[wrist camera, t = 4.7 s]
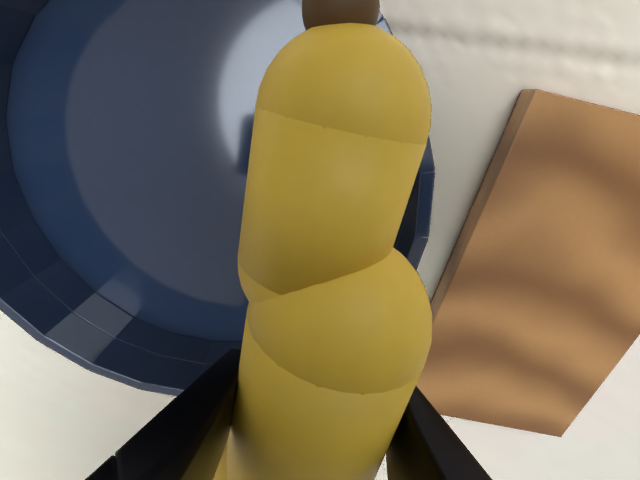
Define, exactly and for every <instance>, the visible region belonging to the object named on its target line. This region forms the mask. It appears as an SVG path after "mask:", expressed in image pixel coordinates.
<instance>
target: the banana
mask: <svg viewBox="0 0 640 480" xmlns="http://www.w3.org/2000/svg"><path fill="white" fill-rule="evenodd" d="M378 16H379V0H302V18H303V23H304V27H305V29H306V31H304V32H303V33H301V34H299V35H298V36H296V37H294V38H293V39H292V40H291V41H290V42H288V43H287V44H286V45H285V46H284V47H283V48H282V49H281V50H280V51H279V52H278V53H277V55H276V56H275V58H274V59H273V61H272V62H271V63H270V65H269V66H268V68H267V70H266V72H265V74H264V77H263V79H262V81H261V84H260V86H259V91H258V95H257V100H256V105H255V114H254V123H253V131H252V140H251V148H250V156H249V165H248V173H247V182H246V190H245V198H244V207H243V215H242V224H241V232H240V241H239V249H238V275H239V279H240V283H241V287H242V289H243V291H244V293H245V295H246V297H247V299H248V301H249V304H248V308H247V313H246V320H245V327H244V335H243V342H242V349H241V356H240V363H239V374H238V384H237V391H236V398H235V405H234V412H233V418H232V425H231V429H230V433H229V436H228V439H227V443H226V446H225V449H224V451H223V454H222V457H221V459H220V462H219V465H218V467H217V470H216V472H215V475H214V477H213V480H374V479H375V476H376V474H377V472H378V470H379V467H380V465H381V463H382V461H383V458H384V456H385V454H386V452H387V449H388V447H389V445H390V442H391V440H392V438H393V436H394V433H395V431H396V429H397V427H398V424H399V422H400V420H401V418H402V415H403V413H404V411H405V409H406V406H407V404H408V402H409V400H410V397H411V395H412V393H413V390H414V388H415V386H416V384H417V381H418V379H419V377H420V375H421V372H422V370H423V368H424V366H425V363H426V359H427V356H428V353H429V349H430V346H431V342H432V311H431V307H430V302H429V298H428V295H427V291H426V289H425V287H424V285H423V283H422V280H421V278H420V276H419V275H418V273H417V272H416V270H415V269H414V268H413V266H412V265H411V264H410V263H409V261H408V260H407V259H406V258H405V257H404V256H403V255H402V254H401V253H400V252H399V251H397V250H396V249H395V248H393V245H394V242H395V239H396V236H397V233H398V230H399V227H400V224H401V221H402V218H403V215H404V212H405V209H406V206H407V203H408V200H409V197H410V194H411V190H412V187H413V184H414V181H415V178H416V175H417V172H418V169H419V166H420V163H421V160H422V157H423V154H424V151H425V148H426V145H427V139H428V135H429V131H430V126H431V100H430V94H429V88H428V84H427V82H426V79H425V77H424V74H423V71H422V69H421V67H420V65H419V64H418V62H417V61H416V59H415V58H414V56H413V55H412V53H411V52H410V50H409V49H408V48H406V47H405V46H404V45H403V44H402V43H401V42H400V41H399V40H398V39H397V38H396V37H395V36H393V35H391V34H389V33H388V32H386V31H384V30H382V29H380V28H379V27H377V26H376V24H377V20H378Z"/></svg>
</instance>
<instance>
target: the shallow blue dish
mask: <svg viewBox="0 0 640 480" xmlns="http://www.w3.org/2000/svg"><path fill="white" fill-rule="evenodd" d="M376 26H377V27H379V28H380V29H382V30H384V31H386V32H388V33H389V34H391V35H393V34H392V32H391V30H390V28H389V26H388V23H387V21H386V19H385V18H383V15H382V14H381V13H380V11H379V16H378V20H377V24H376ZM304 31H306V29H305V27H304V23H303V18H302V0H0V310H1V311H2V312H3V313H5V314H6V315H7V316H8V317H9V318H11V319H12V320H13V321H14V322H15V323H16V324H18V325H19V326H20V327H21V328H22V329H24V330H25V331H26V332H27V333H28V334H30V335H31V336H32V337H33V338H34V339H36V340H37V341H39V342H40V343H42V344H44V345H45V346H47V347H49V348H51V349H52V350H54V351H56V352H57V353H59V354H61V355H63V356H64V357H66V358H68V359H69V360H71V361H73V362H75V363H76V364H78V365H80V366H82V367H83V368H85V369H87V370H89V371H91V372H94V373H97V374H99V375H102V376H105V377H107V378H110V379H113V380H115V381H118V382H121V383H124V384H126V385H129V386H132V387H134V388H137V389H141V390H145V391H151V392H156V393H162V394H167V395H173V396H178V395H179V394H180V393H181V392H182V391H184V390H185V389H186V388H187V387H188V386H189V385H190V384H191V383H192V382H193V381H195V380H196V379H197V378H198V377H199V376H200V375H201V374H202V373H203V372H204V371H206V370H207V369H208V368H209V367H210V366H211V365H212V364H213V363H214V362H215V361H217V360H218V359H219V358H220V357H221V356H222V355H223V354H224V353H225V352H226V351H228V350H229V349H230V348H231V347H238V348H242V342H243V335H244V327H245V320H246V313H247V308H248V304H249V301H248V299H247V297H246V295H245V293H244V291H243V289H242V287H241V283H240V279H239V275H238V249H239V241H240V232H241V224H242V215H243V207H244V198H245V190H246V182H247V173H248V165H249V156H250V148H251V140H252V131H253V123H254V114H255V105H256V100H257V95H258V91H259V86H260V84H261V81H262V79H263V77H264V74H265V72H266V70H267V68H268V66H269V65H270V63H271V62H272V61H273V59H274V58H275V56H276V55H277V53H278V52H279V51H280V50H281V49H282V48H283V47H284V46H285V45H286V44H287V43H288V42H290V41H291V40H292V39H293V38H294V37H296V36H298V35H299V34H301V33H303V32H304ZM434 178H435V167H434V161H433V155H432V150H431V144H430V139H429V135H428V139H427V145H426V148H425V151H424V154H423V157H422V160H421V163H420V166H419V169H418V172H417V175H416V178H415V181H414V184H413V187H412V190H411V194H410V197H409V200H408V203H407V206H406V209H405V212H404V215H403V218H402V221H401V224H400V227H399V230H398V233H397V236H396V239H395V242H394V245H393V248H395V249H396V250H397V251H399V252H400V253H401V254H402V255H403V256H404V257H405V258H406V259H407V260H408V261H409V263H410V264H411V265H412V266H413V268H414V269H415V270H416V269H417V267H418V264H419V262H420V259H421V256H422V254H423V251H424V249H425V246H426V243H427V241H428V237H429V231H430V220H431V210H432V199H433V189H434Z"/></svg>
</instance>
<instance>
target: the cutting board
mask: <svg viewBox="0 0 640 480" xmlns="http://www.w3.org/2000/svg"><path fill="white" fill-rule="evenodd" d="M430 307H431V311H432V342H431V346H430V349H429V353H428V356H427V359H426V363H425V366H424V368H423V370H422V372H421V375H420V377H419V379H418V381H417V384H416V386H417V387H418V388H419V389H420V391H421V392H422V393H423V394H424V396H425V397H426V398H427V399H428V401H429V402H430V403H431V404H432V405H433V407H434V408H435V409H436V410H437V412H438V413H439V414H440V415H446V416H451V417H456V418H462V419H467V420H472V421H478V422H483V423H488V424H494V425H499V426H504V427H510V428H515V429H520V430H526V431H531V432H537V433H542V434H547V435H553V436H558V437H561V436H562V435H563V434H564V432H565V431H566V430H567V428H568V427H569V426H570V424H571V423H572V422H573V421H574V419H575V418H576V417H577V415H578V414H579V413H580V411H581V410H582V409H583V407H584V406H585V405H586V404H587V402H588V401H589V400H590V398H591V397H592V396H593V394H594V393H595V392H596V391H597V389H598V388H599V387H600V385H601V384H602V383H603V381H604V380H605V379H606V378H607V376H608V375H609V374H610V372H611V371H612V370H613V368H614V367H615V366H616V365H617V363H618V362H619V361H620V359H621V358H622V357H623V355H624V354H625V353H626V351H627V350H628V349H629V348H630V346H631V345H632V344H633V342H634V341H635V340H636V338H637V337H638V336H639V335H640V115H636V114H632V113H628V112H625V111H621V110H617V109H613V108H609V107H605V106H601V105H597V104H593V103H589V102H585V101H581V100H577V99H573V98H569V97H565V96H561V95H557V94H553V93H549V92H545V91H541V90H538V89H530V90H522V91H521V94H520V96H519V98H518V101H517V103H516V105H515V108H514V110H513V112H512V115H511V117H510V119H509V122H508V124H507V126H506V129H505V131H504V133H503V136H502V138H501V140H500V143H499V145H498V147H497V150H496V152H495V155H494V157H493V159H492V162H491V164H490V166H489V169H488V171H487V173H486V176H485V178H484V180H483V183H482V185H481V187H480V190H479V192H478V194H477V197H476V199H475V201H474V204H473V206H472V208H471V211H470V213H469V215H468V218H467V220H466V222H465V225H464V227H463V229H462V232H461V234H460V236H459V239H458V241H457V243H456V246H455V248H454V250H453V253H452V255H451V258H450V260H449V262H448V265H447V267H446V269H445V272H444V274H443V276H442V279H441V281H440V283H439V286H438V288H437V290H436V293H435V295H434V297H433V300H432V302H431V304H430Z"/></svg>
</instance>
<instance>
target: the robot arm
mask: <svg viewBox="0 0 640 480" xmlns="http://www.w3.org/2000/svg"><path fill="white" fill-rule="evenodd" d="M241 349H242V348H238V347H231V348H230V349H229V350H228V351H226V352H225V353H224V354H223V355H222V356H221V357H220V358H219V359H218V360H217V361H215V362H214V363H213V364H212V365H211V366H210V367H209V368H208V369H207V370H206V371H204V372H203V373H202V374H201V375H200V376H199V377H198V378H197V379H196V380H195V381H193V382H192V383H191V384H190V385H189V386H188V387H187V388H186V389H185V390H184V391H182V392H181V393H180V394H179V395H178V396H177V397H176V398H175V399H174V400H173V401H171V402H170V403H169V404H168V405H167V406H166V407H165V408H164V409H163V410H162V411H160V412H159V413H158V414H157V415H156V416H155V417H154V418H153V419H152V420H151V421H149V422H148V423H147V424H146V425H145V426H144V427H143V428H142V429H141V430H140V431H138V432H137V433H136V434H135V435H134V436H133V437H132V438H131V439H130V440H129V441H127V442H126V443H125V444H124V445H123V446H122V447H121V448H120V449H119V450H118V451H116V453H115V456H114V455H113V456H111V457H110V458H109V459H107V460H106V461H105V462H104V463H103V464H102V465H101V466H100V467H99V468H98V469H97V470H95V471H94V472H93V473H92V474H91V475H90V476H89V477H87V478H86V479H85V480H213V477H214V475H215V472H216V470H217V467H218V465H219V462H220V459H221V457H222V454H223V451H224V449H225V446H226V443H227V439H228V436H229V433H230V429H231V425H232V418H233V412H234V405H235V398H236V391H237V384H238V374H239V363H240V356H241ZM386 461H387V475H388V480H492V479H491V478H490V476H489V475H488V474H487V473H486V471H485V470H484V469H483V468H482V466H481V465H480V464H479V463H478V461H477V460H476V459H475V458H474V456H473V455H472V454H471V453H470V451H469V450H468V449H467V448H466V446H465V445H464V444H463V443H462V442H461V440H460V439H459V438H458V437H457V435H456V434H455V433H454V432H453V430H452V429H451V428H450V427H449V425H448V424H447V423H446V422H445V420H444V419H443V418H442V417H441V415H440V414H439V413H438V412H437V410H436V409H435V408H434V407H433V405H432V404H431V403H430V402H429V401H428V399H427V398H426V397H425V396H424V394H423V393H422V392H421V391H420V389H419V388H418V387H417V386H415V388H414V390H413V393H412V395H411V397H410V400H409V402H408V404H407V406H406V409H405V411H404V413H403V415H402V418H401V420H400V422H399V424H398V427H397V429H396V431H395V433H394V436H393V438H392V440H391V442H390V445H389V447H388V449H387V452H386Z"/></svg>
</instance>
